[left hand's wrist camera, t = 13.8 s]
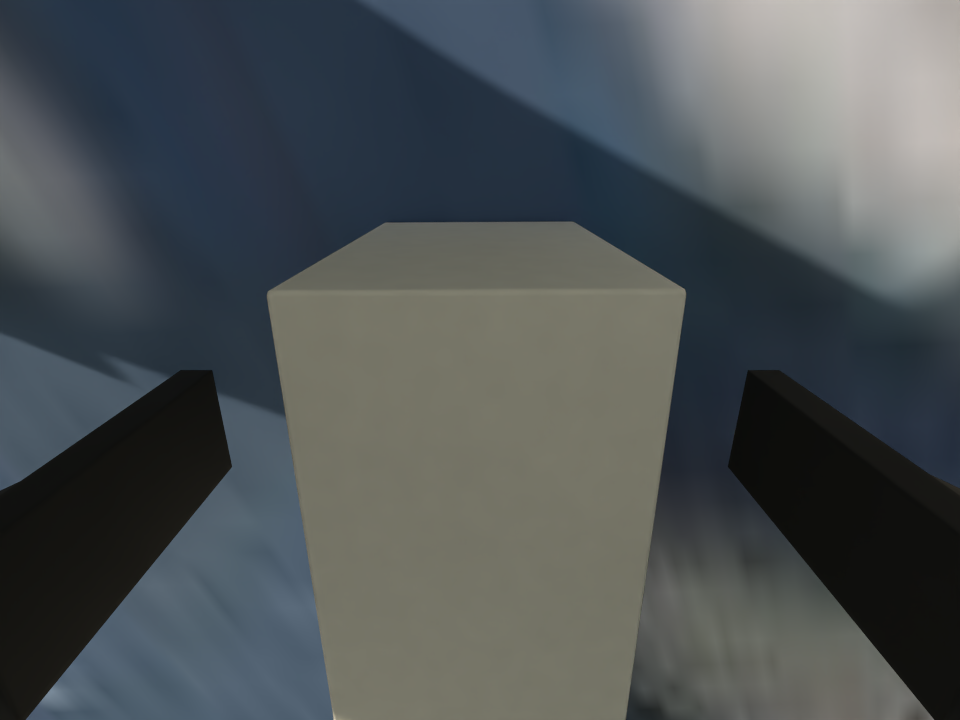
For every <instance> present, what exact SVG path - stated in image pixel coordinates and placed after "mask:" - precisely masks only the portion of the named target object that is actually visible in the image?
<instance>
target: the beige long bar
mask: <svg viewBox="0 0 960 720" xmlns="http://www.w3.org/2000/svg"><path fill="white" fill-rule="evenodd" d="M685 299H686V291H685V289H684V288H682V287H680V286H679V285H677V284H675V283H674V282H672V281H670V280H669V279H667V278H665V277H664V276H662V275H661V274H659V273H657V272H656V271H654V270H652V269H651V268H649V267H647V266H646V265H644V264H642V263H641V262H639V261H637V260H636V259H634V258H633V257H631V256H629V255H628V254H626V253H624V252H623V251H621V250H619V249H618V248H616V247H614V246H613V245H611V244H609V243H608V242H606V241H604V240H603V239H601V238H600V237H598V236H596V235H595V234H593V233H591V232H590V231H588V230H586V229H585V228H583V227H581V226H580V225H578V224H576V223H575V222H402V223H384V224H382V225H380V226H379V227H377V228H375V229H373V230H372V231H370V232H368V233H367V234H365V235H363V236H361V237H360V238H358V239H356V240H355V241H353V242H351V243H349V244H348V245H346V246H344V247H343V248H341V249H339V250H338V251H336V252H334V253H332V254H331V255H329V256H327V257H326V258H324V259H322V260H320V261H319V262H317V263H315V264H314V265H312V266H310V267H309V268H307V269H305V270H303V271H302V272H300V273H298V274H297V275H295V276H293V277H291V278H290V279H288V280H286V281H285V282H283V283H281V284H280V285H278V286H276V287H274V288H273V289H271V290H269V291H268V293H267V301H268V307H269V313H270V320H271V326H272V332H273V339H274V345H275V351H276V358H277V364H278V370H279V376H280V383H281V389H282V395H283V402H284V408H285V414H286V421H287V427H288V433H289V439H290V446H291V452H292V458H293V465H294V471H295V477H296V483H297V490H298V496H299V502H300V509H301V515H302V521H303V528H304V534H305V540H306V546H307V553H308V559H309V565H310V572H311V578H312V584H313V591H314V597H315V603H316V609H317V616H318V622H319V628H320V635H321V641H322V647H323V653H324V660H325V666H326V672H327V679H328V685H329V691H330V698H331V704H332V710H333V716H334V720H626V713H627V706H628V699H629V692H630V685H631V678H632V671H633V664H634V657H635V650H636V643H637V636H638V629H639V622H640V615H641V608H642V601H643V594H644V587H645V580H646V573H647V566H648V559H649V552H650V545H651V538H652V531H653V524H654V517H655V510H656V503H657V496H658V489H659V482H660V475H661V468H662V461H663V454H664V447H665V440H666V433H667V426H668V419H669V412H670V405H671V398H672V391H673V384H674V377H675V370H676V363H677V356H678V349H679V342H680V335H681V328H682V321H683V313H684V306H685Z"/></svg>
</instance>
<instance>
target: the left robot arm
mask: <svg viewBox="0 0 960 720" xmlns="http://www.w3.org/2000/svg"><path fill="white" fill-rule="evenodd" d="M231 467H232V464H231V459H230V455H229V450H228V445H227V440H226V435H225V430H224V426H223V421H222V416H221V411H220V406H219V401H218V396H217V392H216V387H215V382H214V377H213V372H212V370H180V371H179V372H178V373H176V374H175V375H173V376H172V377H170V378H169V379H167V380H166V381H165V382H163V383H162V384H160V385H159V386H157V387H156V388H154V389H153V390H152V391H150V392H149V393H147V394H146V395H144V396H143V397H142V398H140V399H139V400H137V401H136V402H134V403H133V404H131V405H130V406H129V407H127V408H126V409H124V410H123V411H121V412H120V413H118V414H117V415H116V416H114V417H113V418H111V419H110V420H108V421H107V422H105V423H104V424H103V425H101V426H100V427H98V428H97V429H95V430H94V431H92V432H91V433H90V434H88V435H87V436H85V437H84V438H82V439H81V440H79V441H78V442H77V443H75V444H74V445H72V446H71V447H69V448H68V449H66V450H65V451H64V452H62V453H61V454H59V455H58V456H56V457H55V458H53V459H52V460H51V461H49V462H48V463H46V464H45V465H43V466H42V467H40V468H39V469H38V470H36V471H35V472H33V473H32V474H30V475H29V476H27V477H26V478H25V479H23V480H22V481H20V482H18V483H16V484H14V485H12V486H9V487H7V488H5V489H3V490H1V491H0V720H26V718H27V717H28V716H29V715H30V714H31V712H32V711H33V710H34V709H35V707H36V706H37V705H38V704H39V703H40V701H41V700H42V699H43V698H44V696H45V695H46V694H47V693H48V692H49V690H50V689H51V688H52V687H53V685H54V684H55V683H56V682H57V681H58V679H59V678H60V677H61V676H62V674H63V673H64V672H65V671H66V669H67V668H68V667H69V666H70V665H71V663H72V662H73V661H74V660H75V658H76V657H77V656H78V655H79V654H80V652H81V651H82V650H83V649H84V647H85V646H86V645H87V644H88V643H89V641H90V640H91V639H92V638H93V636H94V635H95V634H96V633H97V632H98V630H99V629H100V628H101V627H102V625H103V624H104V623H105V622H106V621H107V619H108V618H109V617H110V616H111V614H112V613H113V612H114V611H115V609H116V608H117V607H118V606H119V605H120V603H121V602H122V601H123V600H124V598H125V597H126V596H127V595H128V594H129V592H130V591H131V590H132V589H133V587H134V586H135V585H136V584H137V583H138V581H139V580H140V579H141V578H142V576H143V575H144V574H145V573H146V572H147V570H148V569H149V568H150V567H151V565H152V564H153V563H154V562H155V560H156V559H157V558H158V557H159V556H160V554H161V553H162V552H163V551H164V549H165V548H166V547H167V546H168V545H169V543H170V542H171V541H172V540H173V538H174V537H175V536H176V535H177V534H178V532H179V531H180V530H181V529H182V527H183V526H184V525H185V524H186V523H187V521H188V520H189V519H190V518H191V516H192V515H193V514H194V513H195V511H196V510H197V509H198V508H199V507H200V505H201V504H202V503H203V502H204V500H205V499H206V498H207V497H208V496H209V494H210V493H211V492H212V491H213V489H214V488H215V487H216V486H217V485H218V483H219V482H220V481H221V480H222V478H223V477H224V476H225V475H226V474H227V472H228V471H229V470H230V469H231ZM728 467H729V469H730V470H731V471H732V472H733V474H734V475H735V476H736V477H737V478H738V480H739V481H740V482H741V483H742V485H743V486H744V487H745V488H746V489H747V491H748V492H749V493H750V494H751V496H752V497H753V498H754V499H755V500H756V502H757V503H758V504H759V505H760V507H761V508H762V509H763V510H764V511H765V513H766V514H767V515H768V516H769V518H770V519H771V520H772V521H773V523H774V524H775V525H776V526H777V527H778V529H779V530H780V531H781V532H782V534H783V535H784V536H785V537H786V538H787V540H788V541H789V542H790V543H791V545H792V546H793V547H794V548H795V549H796V551H797V552H798V553H799V554H800V556H801V557H802V558H803V559H804V560H805V562H806V563H807V564H808V565H809V567H810V568H811V569H812V570H813V572H814V573H815V574H816V575H817V576H818V578H819V579H820V580H821V581H822V583H823V584H824V585H825V586H826V587H827V589H828V590H829V591H830V592H831V594H832V595H833V596H834V597H835V598H836V600H837V601H838V602H839V603H840V605H841V606H842V607H843V608H844V609H845V611H846V612H847V613H848V614H849V616H850V617H851V618H852V619H853V621H854V622H855V623H856V624H857V625H858V627H859V628H860V629H861V630H862V632H863V633H864V634H865V635H866V636H867V638H868V639H869V640H870V641H871V643H872V644H873V645H874V646H875V647H876V649H877V650H878V651H879V652H880V654H881V655H882V656H883V657H884V658H885V660H886V661H887V662H888V663H889V665H890V666H891V667H892V668H893V669H894V671H895V672H896V673H897V674H898V676H899V677H900V678H901V679H902V681H903V682H904V683H905V684H906V685H907V687H908V688H909V689H910V690H911V692H912V693H913V694H914V695H915V696H916V698H917V699H918V700H919V701H920V703H921V704H922V705H923V706H924V707H925V709H926V710H927V711H928V712H929V714H930V715H931V716H932V717H933V718H934V720H960V488H958V487H955V486H953V485H951V484H949V483H947V482H945V481H943V480H940V479H938V478H936V477H934V476H932V475H930V474H928V473H927V472H925V471H924V470H922V469H921V468H920V467H918V466H917V465H915V464H914V463H912V462H911V461H909V460H908V459H907V458H905V457H904V456H902V455H901V454H899V453H898V452H896V451H895V450H894V449H892V448H891V447H889V446H888V445H886V444H885V443H883V442H882V441H881V440H879V439H878V438H876V437H875V436H873V435H872V434H870V433H869V432H868V431H866V430H865V429H863V428H862V427H860V426H859V425H857V424H856V423H855V422H853V421H852V420H850V419H849V418H847V417H846V416H844V415H843V414H842V413H840V412H839V411H837V410H836V409H834V408H833V407H831V406H830V405H829V404H827V403H826V402H824V401H823V400H821V399H820V398H818V397H817V396H816V395H814V394H813V393H811V392H810V391H808V390H807V389H806V388H804V387H803V386H801V385H800V384H798V383H797V382H795V381H794V380H793V379H791V378H790V377H788V376H787V375H785V374H784V373H782V372H781V371H780V370H748V372H747V377H746V382H745V387H744V392H743V396H742V401H741V406H740V411H739V416H738V421H737V426H736V430H735V435H734V440H733V445H732V450H731V455H730V459H729V464H728Z"/></svg>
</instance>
